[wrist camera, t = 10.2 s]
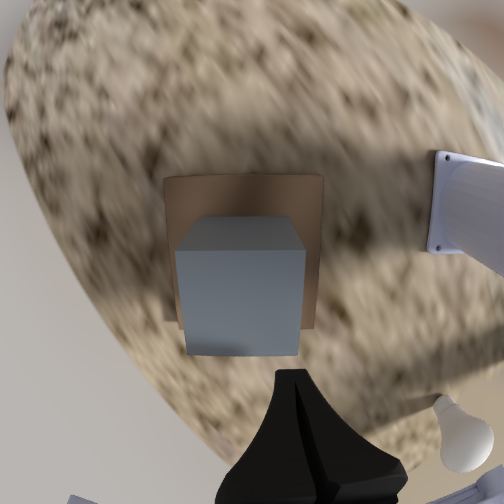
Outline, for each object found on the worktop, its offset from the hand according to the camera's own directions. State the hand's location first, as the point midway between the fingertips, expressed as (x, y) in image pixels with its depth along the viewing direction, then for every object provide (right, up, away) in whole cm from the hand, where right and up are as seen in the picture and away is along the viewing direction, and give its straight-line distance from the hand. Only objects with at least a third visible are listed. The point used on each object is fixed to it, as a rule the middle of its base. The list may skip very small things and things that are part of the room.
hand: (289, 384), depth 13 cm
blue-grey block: (-2, +6, +7) cm, 9 cm away
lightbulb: (+20, -11, +14) cm, 27 cm away
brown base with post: (-2, +6, +8) cm, 11 cm away
